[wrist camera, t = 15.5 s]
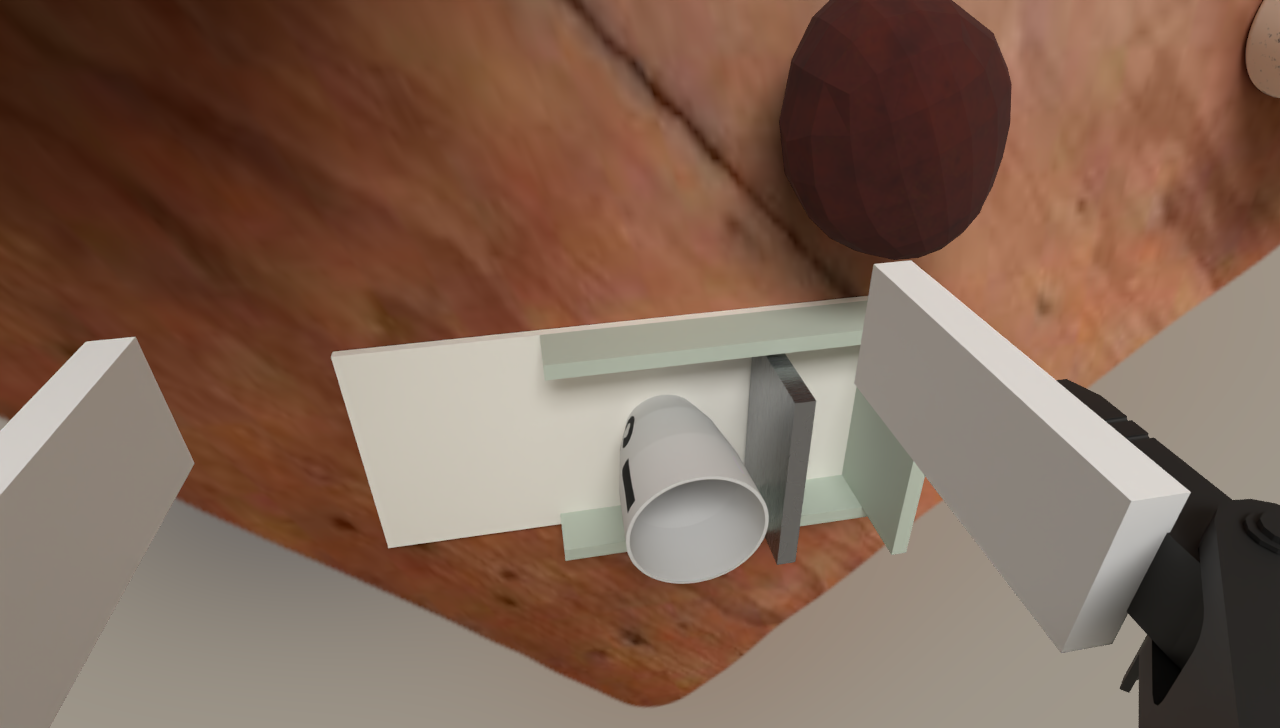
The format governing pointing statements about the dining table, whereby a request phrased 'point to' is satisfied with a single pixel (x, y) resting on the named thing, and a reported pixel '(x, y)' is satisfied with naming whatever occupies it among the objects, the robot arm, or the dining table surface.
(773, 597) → the dining table surface
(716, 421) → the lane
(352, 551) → the dining table surface
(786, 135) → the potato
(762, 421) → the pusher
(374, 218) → the dining table surface
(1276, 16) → the teacup with lid
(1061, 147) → the dining table surface
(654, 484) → the cup
